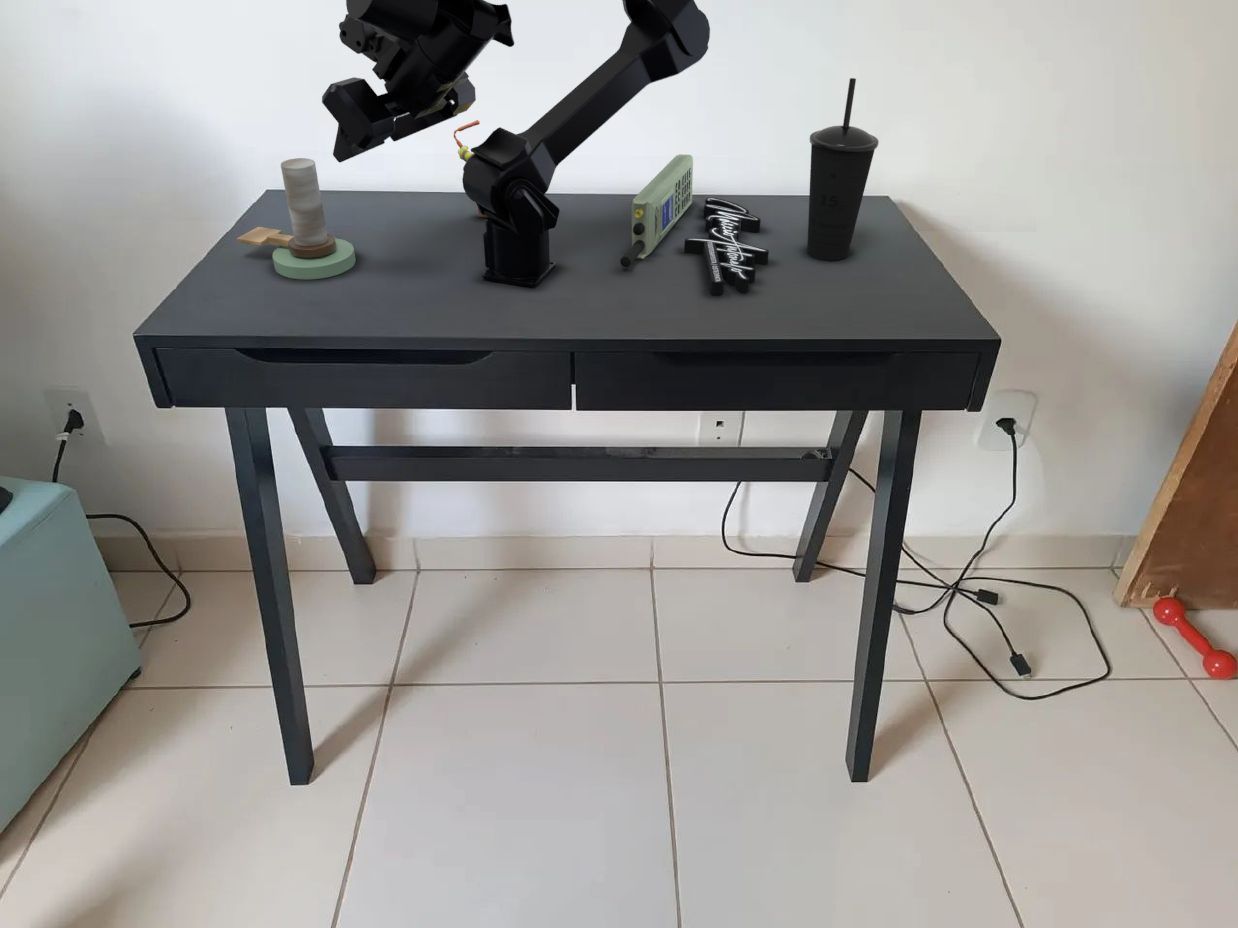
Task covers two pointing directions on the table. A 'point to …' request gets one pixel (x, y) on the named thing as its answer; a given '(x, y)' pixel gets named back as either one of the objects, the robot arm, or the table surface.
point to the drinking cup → (837, 184)
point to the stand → (314, 262)
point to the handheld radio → (659, 207)
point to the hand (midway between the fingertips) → (365, 147)
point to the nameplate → (727, 246)
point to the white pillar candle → (299, 214)
